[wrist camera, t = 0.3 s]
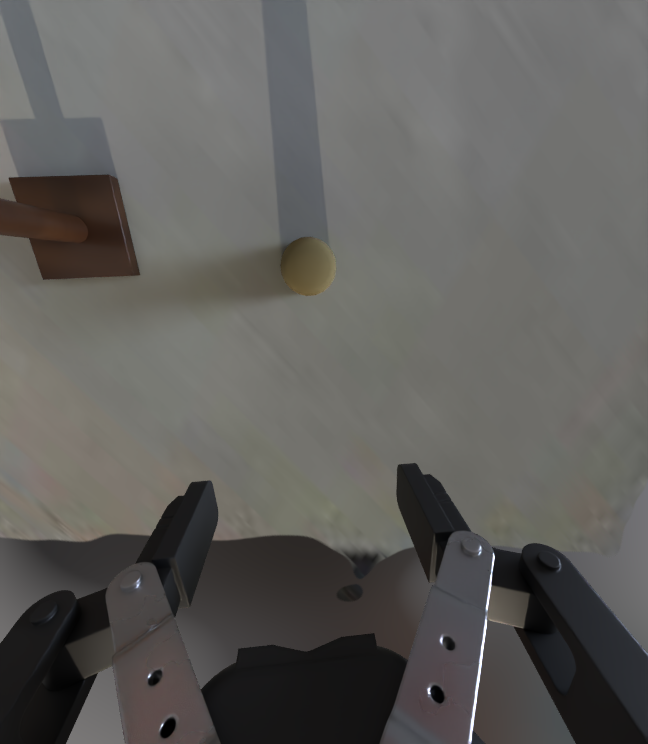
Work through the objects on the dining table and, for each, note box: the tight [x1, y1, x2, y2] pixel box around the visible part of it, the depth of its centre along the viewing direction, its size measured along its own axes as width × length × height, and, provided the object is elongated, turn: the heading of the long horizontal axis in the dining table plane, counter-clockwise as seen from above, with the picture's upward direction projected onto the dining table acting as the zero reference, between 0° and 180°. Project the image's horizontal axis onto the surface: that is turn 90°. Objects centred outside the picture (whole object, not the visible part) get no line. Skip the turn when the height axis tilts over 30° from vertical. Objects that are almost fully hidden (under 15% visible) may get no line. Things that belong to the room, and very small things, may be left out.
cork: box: [280, 237, 336, 296], centre depth 32 cm, size 6×6×11 cm
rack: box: [0, 175, 140, 280], centre depth 27 cm, size 10×10×14 cm
